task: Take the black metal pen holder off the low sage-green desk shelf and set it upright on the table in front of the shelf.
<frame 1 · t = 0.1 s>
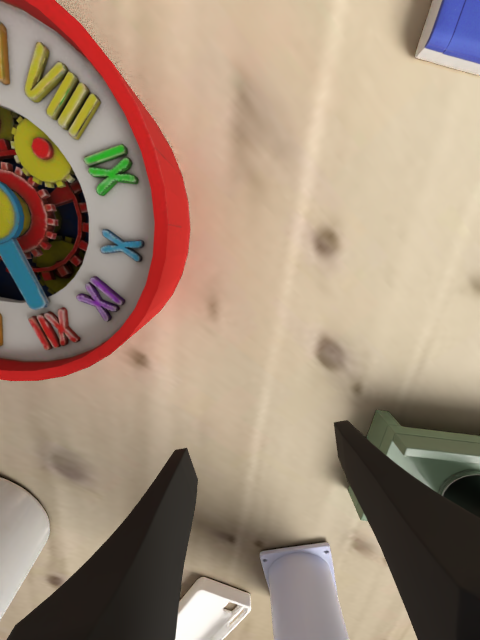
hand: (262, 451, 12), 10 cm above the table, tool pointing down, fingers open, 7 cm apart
phone case: (199, 613, 33), on the table
shelf: (438, 461, 25), on the table
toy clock: (55, 218, 19), on the table
holder: (464, 489, 22), point 3 cm above the table, touching shelf
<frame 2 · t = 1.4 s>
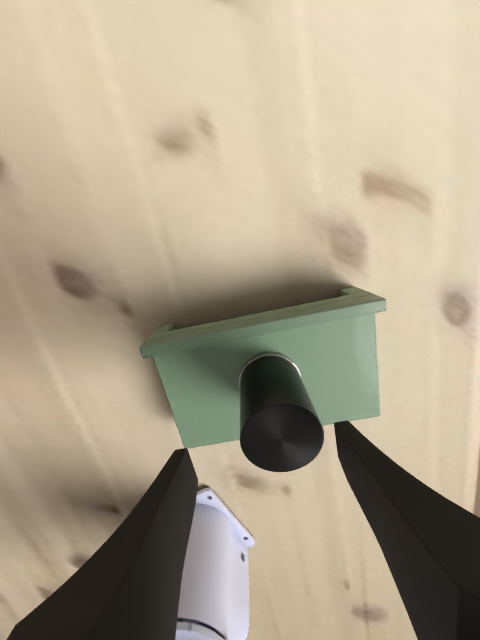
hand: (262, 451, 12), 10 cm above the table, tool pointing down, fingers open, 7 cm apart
shelf: (265, 361, 22), on the table
holder: (269, 379, 19), point 3 cm above the table, touching shelf
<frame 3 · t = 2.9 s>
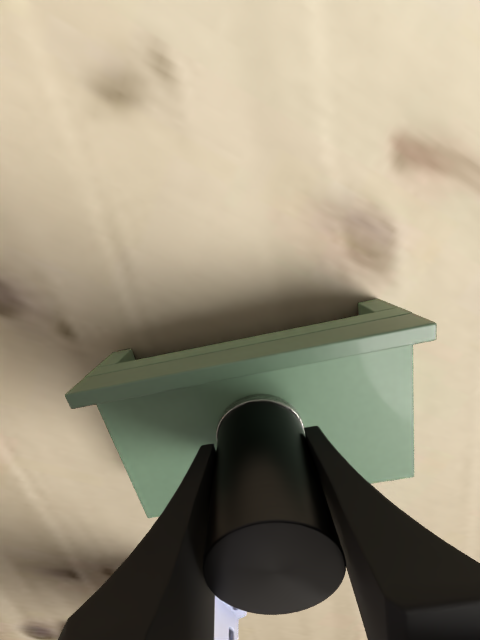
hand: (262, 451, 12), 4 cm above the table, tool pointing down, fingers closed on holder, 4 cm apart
shelf: (257, 397, 16), on the table
holder: (259, 430, 13), point 3 cm above the table, touching gripper, shelf
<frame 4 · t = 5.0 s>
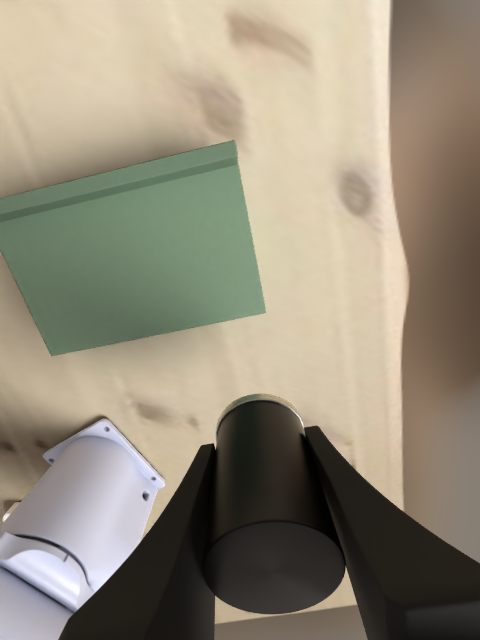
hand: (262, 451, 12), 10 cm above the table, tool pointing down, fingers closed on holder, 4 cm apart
shelf: (148, 261, 19), on the table
holder: (259, 430, 13), point 9 cm above the table, touching gripper
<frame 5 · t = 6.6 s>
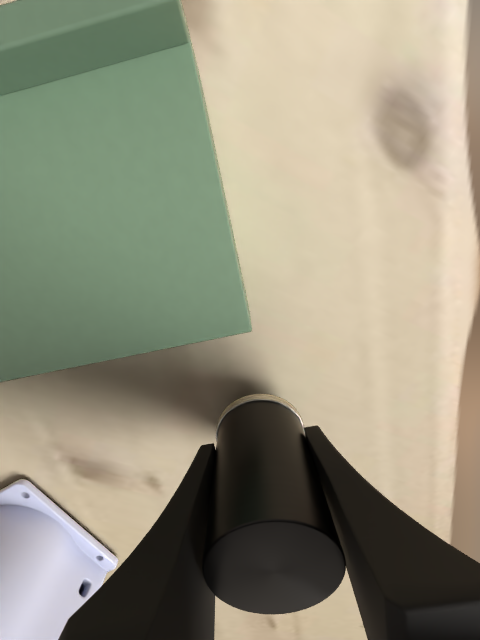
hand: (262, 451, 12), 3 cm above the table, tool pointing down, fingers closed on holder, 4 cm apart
shelf: (64, 247, 12), on the table
holder: (259, 430, 13), point 1 cm above the table, touching gripper
when the fingers open (1 cm above the table, at t = 7.5 s): holder stays where it is, on the table.
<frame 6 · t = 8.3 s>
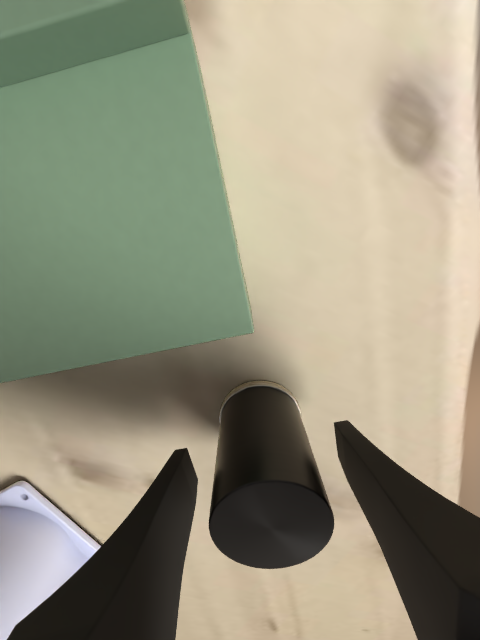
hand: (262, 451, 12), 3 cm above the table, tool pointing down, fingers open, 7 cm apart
shelf: (62, 245, 12), on the table
holder: (259, 415, 14), on the table
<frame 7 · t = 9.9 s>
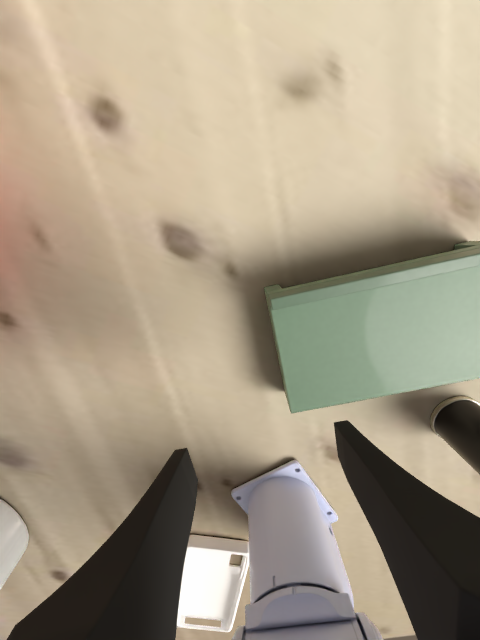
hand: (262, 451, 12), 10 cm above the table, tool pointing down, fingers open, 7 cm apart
phone case: (211, 576, 31), on the table
shelf: (368, 323, 21), on the table
holder: (454, 416, 24), on the table
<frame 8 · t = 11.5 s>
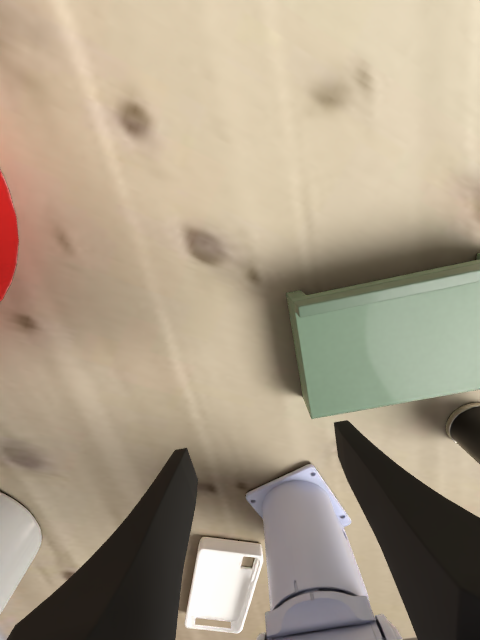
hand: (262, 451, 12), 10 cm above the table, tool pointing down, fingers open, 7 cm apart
phone case: (222, 578, 31), on the table
shelf: (388, 330, 21), on the table
holder: (470, 422, 24), on the table
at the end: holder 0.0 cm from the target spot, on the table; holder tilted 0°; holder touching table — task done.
